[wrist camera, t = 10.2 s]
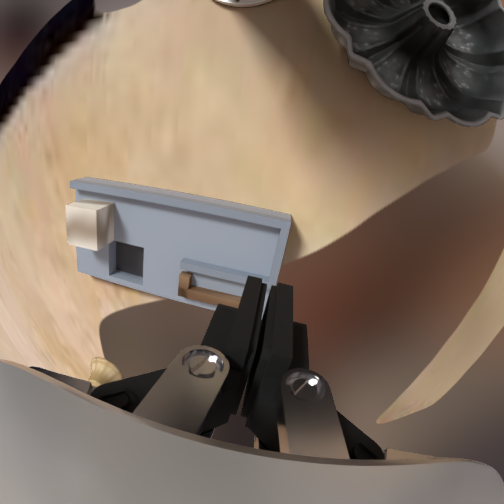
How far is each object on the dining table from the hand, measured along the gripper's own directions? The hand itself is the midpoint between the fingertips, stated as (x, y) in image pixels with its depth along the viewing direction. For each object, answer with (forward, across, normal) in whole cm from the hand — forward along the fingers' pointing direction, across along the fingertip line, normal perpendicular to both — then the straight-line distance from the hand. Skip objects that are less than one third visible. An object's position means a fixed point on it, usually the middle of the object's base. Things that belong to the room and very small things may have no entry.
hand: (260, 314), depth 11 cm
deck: (+28, +13, +11) cm, 33 cm away
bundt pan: (+29, -12, -26) cm, 41 cm away
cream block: (+26, +24, +9) cm, 36 cm away
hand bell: (+28, +26, +44) cm, 58 cm away
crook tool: (+25, +6, +16) cm, 30 cm away
